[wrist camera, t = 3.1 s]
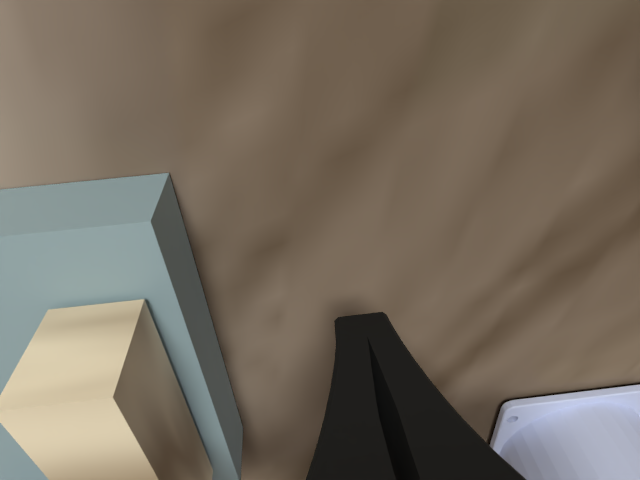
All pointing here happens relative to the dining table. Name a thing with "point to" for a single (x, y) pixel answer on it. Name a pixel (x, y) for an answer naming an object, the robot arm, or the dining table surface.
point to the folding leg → (102, 399)
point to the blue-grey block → (113, 292)
